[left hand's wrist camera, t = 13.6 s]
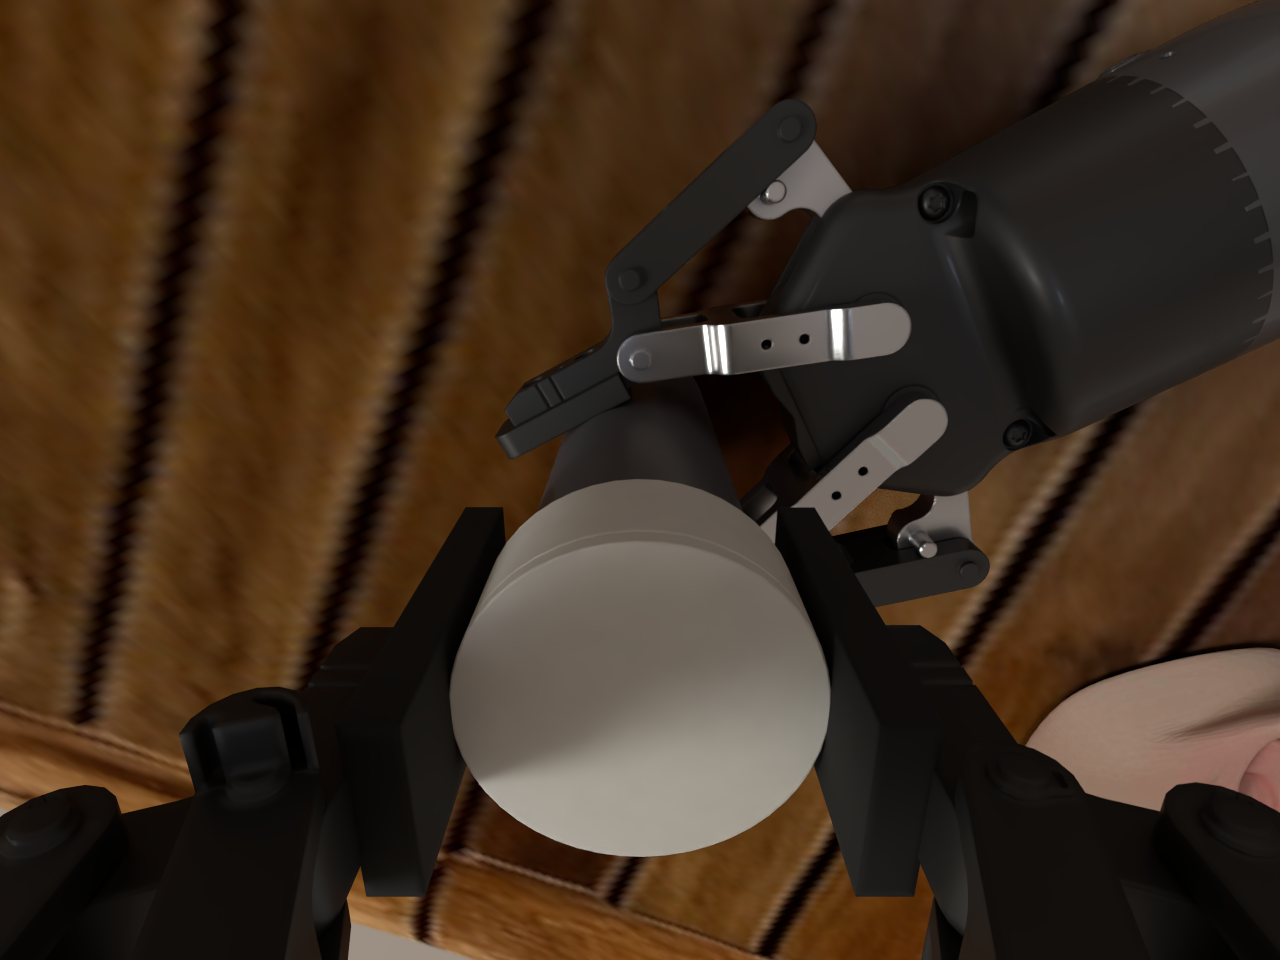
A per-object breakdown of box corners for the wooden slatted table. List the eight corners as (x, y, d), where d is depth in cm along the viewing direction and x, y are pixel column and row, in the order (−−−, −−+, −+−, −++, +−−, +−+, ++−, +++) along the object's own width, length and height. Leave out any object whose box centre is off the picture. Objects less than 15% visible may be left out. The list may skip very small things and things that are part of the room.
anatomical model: (1037, 949, 30) (1064, 733, 26) (993, 869, 34) (1010, 668, 30) (1359, 924, 29) (1437, 699, 25) (1278, 845, 33) (1334, 638, 29)
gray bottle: (600, 330, 25) (540, 503, 10) (724, 377, 25) (847, 608, 10) (558, 450, 26) (451, 758, 11) (676, 491, 27) (722, 837, 12)
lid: (419, 628, 13) (370, 719, 10) (634, 409, 11) (633, 458, 9) (644, 796, 14) (645, 910, 12) (861, 620, 13) (911, 710, 10)
